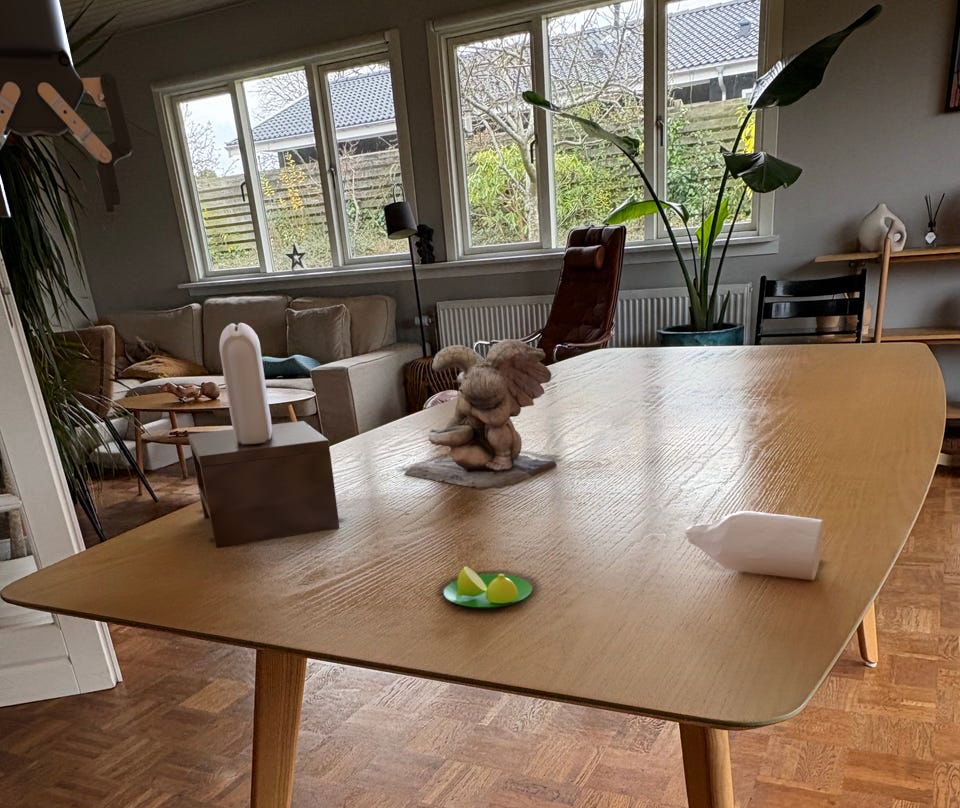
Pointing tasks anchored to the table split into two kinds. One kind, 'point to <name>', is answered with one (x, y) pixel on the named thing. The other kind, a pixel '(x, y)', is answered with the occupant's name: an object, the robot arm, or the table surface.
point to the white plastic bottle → (762, 543)
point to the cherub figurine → (488, 416)
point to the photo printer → (245, 384)
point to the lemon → (486, 590)
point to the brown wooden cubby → (265, 484)
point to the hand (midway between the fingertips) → (58, 215)
